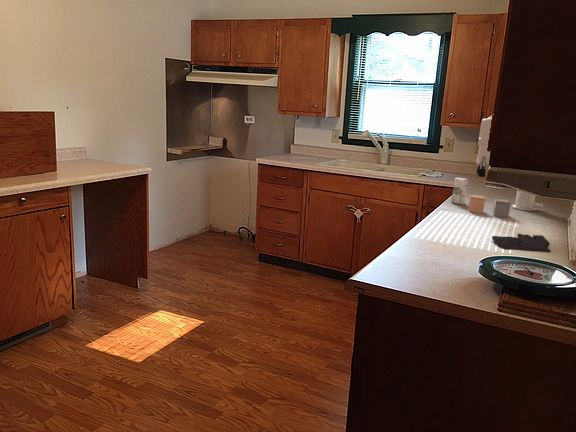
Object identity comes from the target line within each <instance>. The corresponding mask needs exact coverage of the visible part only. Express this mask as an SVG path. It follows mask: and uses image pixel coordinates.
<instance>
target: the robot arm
mask: <svg viewBox="0 0 576 432" xmlns="http://www.w3.org/2000/svg"><path fill="white" fill-rule="evenodd" d="M491 120H492V115H491V116H489V117H488V118H482V120H481V123H480V130H479V135H478V142H477V146H479V147H478V152H477V157H476V161H475V162H476V164H477V165H478V166H477V168H476V174H477V175H478V176H477V177H481V178H485V177H486V172H487V166H488V164H489V158H490V154H489V152H488V151H487V147H488V140H489V133H490V127H491ZM535 199H536V195H532V194H528V193H525V192H522V191H518V189H517V192H516V196H515V202H514V203H513V204H511V208H513V209H517V210H520V211H529V212H530V211H531V212H532V211H536V210H537V207H538V208H544V204H543V203H539V202H536V201H535Z"/></svg>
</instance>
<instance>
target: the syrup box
mask: <svg viewBox="0 0 576 432" xmlns="http://www.w3.org/2000/svg"><path fill="white" fill-rule="evenodd" d="M468 182H469V179H468V178H464V177H455V178H454V183H453V187H452V189H453V190H452V194H451V204H456V205H463V204H465V203H466V196H467V195H466V194H467V190H468V189H467V188H468Z"/></svg>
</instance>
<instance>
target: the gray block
mask: <svg viewBox="0 0 576 432" xmlns="http://www.w3.org/2000/svg"><path fill="white" fill-rule="evenodd" d="M511 206H512V204H511V201H510V200H509V199H500V198H494V201H493V207H492V216H493V217H498V218H503V219H504V218H507V219H509V215H510V209H511Z"/></svg>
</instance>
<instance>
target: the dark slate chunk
mask: <svg viewBox="0 0 576 432" xmlns="http://www.w3.org/2000/svg"><path fill="white" fill-rule="evenodd" d="M516 235H517V236H516V237H515V236H502V235H492V236H491V239H492V240H493V241H494V243H495V244H496V245H497V246H498V247H499V248H501V249H503V250H510V251H511V250H512V251H513V250H514V251H521V252H522V251H523V252H525V251H526V252H538V253H551V252H552V250H550V249H549V246H550V245H551V242H550V241H549V240H548V239H547V238H545V237H544V235H541V234H540V235H538V234H535V235H534V234H533V235H529V234H522V233H518V234H516Z"/></svg>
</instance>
